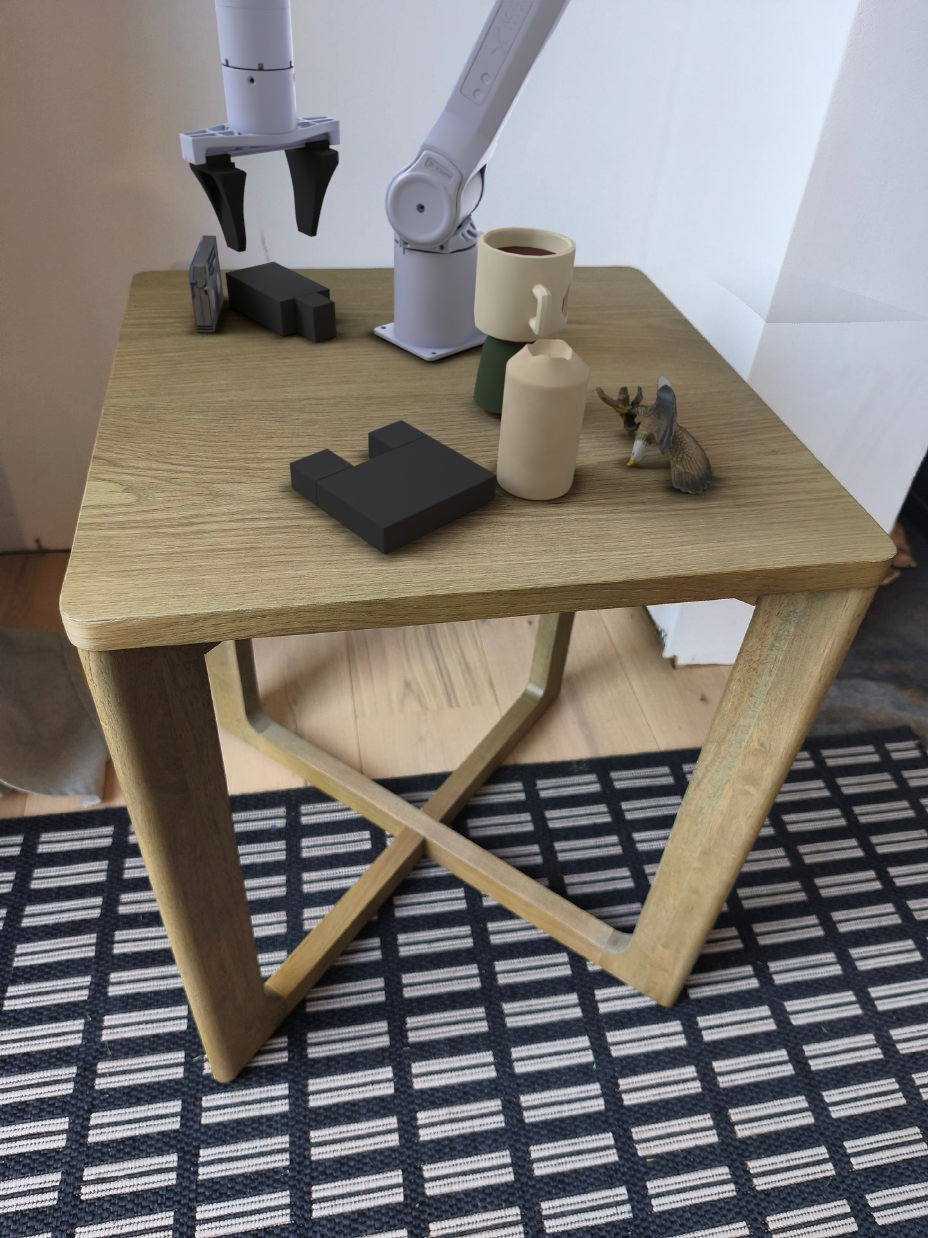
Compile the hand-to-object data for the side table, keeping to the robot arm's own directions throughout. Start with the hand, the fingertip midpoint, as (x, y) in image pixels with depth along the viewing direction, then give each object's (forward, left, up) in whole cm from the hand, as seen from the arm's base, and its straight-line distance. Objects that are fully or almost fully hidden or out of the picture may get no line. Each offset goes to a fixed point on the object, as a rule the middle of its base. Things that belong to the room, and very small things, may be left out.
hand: (272, 240), depth 78 cm
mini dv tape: (+5, -3, -7) cm, 9 cm away
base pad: (+12, +31, -7) cm, 34 cm away
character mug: (-4, +27, -7) cm, 28 cm away
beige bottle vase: (+3, +36, -7) cm, 37 cm away
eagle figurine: (-6, +40, -7) cm, 41 cm away
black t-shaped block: (0, +1, -7) cm, 7 cm away
